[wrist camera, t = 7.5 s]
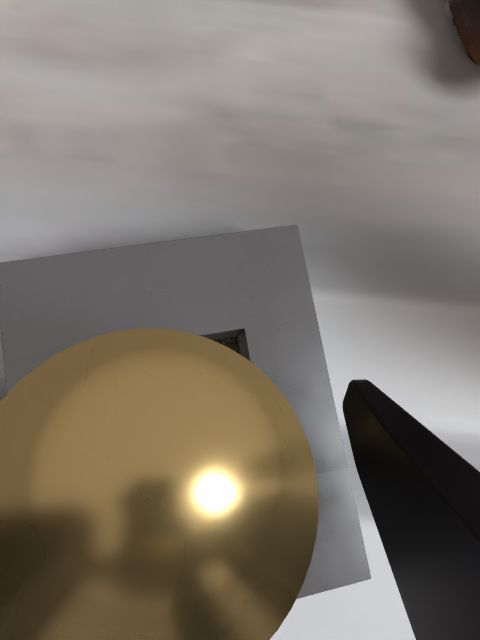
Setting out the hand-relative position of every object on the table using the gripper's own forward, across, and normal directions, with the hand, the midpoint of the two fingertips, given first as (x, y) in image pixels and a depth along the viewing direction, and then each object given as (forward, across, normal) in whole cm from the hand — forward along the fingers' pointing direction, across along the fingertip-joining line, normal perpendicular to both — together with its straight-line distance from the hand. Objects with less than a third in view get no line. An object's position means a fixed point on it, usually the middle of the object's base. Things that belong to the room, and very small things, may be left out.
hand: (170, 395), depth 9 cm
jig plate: (+5, 0, +6) cm, 8 cm away
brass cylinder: (+5, 0, +6) cm, 8 cm away
